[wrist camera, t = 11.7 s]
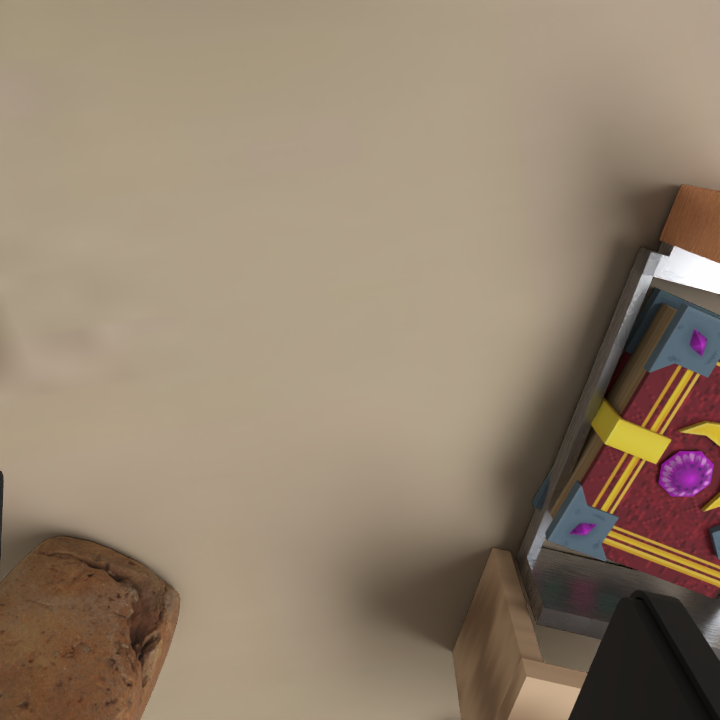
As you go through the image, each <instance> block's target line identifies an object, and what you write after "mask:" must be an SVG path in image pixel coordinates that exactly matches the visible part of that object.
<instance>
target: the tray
mask: <svg viewBox="0 0 720 720" xmlns="http://www.w3.org/2000/svg"><path fill="white" fill-rule="evenodd" d="M659 240H660V241H662V243H661V245H660V248H659V250H658V251H654V250H650V249H646V248H643V247H640V250H639V252H638V255H637V257H636V260H635V262H634V265H633V267H632V270H631V272H630V275H629V277H628V280H627V282H626V285H625V287H624V290H623V292H622V295H621V297H620V300H619V302H618V305H617V307H616V310H615V312H614V315H613V317H612V320H611V322H610V325H609V327H608V330H607V332H606V335H605V337H604V340H603V342H602V345H601V347H600V350H599V352H598V355H597V357H596V360H595V362H594V365H593V367H592V370H591V372H590V375H589V377H588V380H587V382H586V385H585V387H584V390H583V392H582V395H581V397H580V400H579V402H578V405H577V407H576V409H575V412H574V414H573V417H572V419H571V422H570V424H569V427H568V429H567V432H566V434H565V437H564V439H563V442H562V444H561V447H560V449H559V452H558V454H557V457H556V459H555V462H554V464H553V467H552V469H551V472H550V474H549V477H548V479H549V480H550V482H549V485H548V487H547V490H546V492H545V495H544V497H543V500H542V502H541V505H540V507H539V509H535V512H534V514H533V517H532V519H531V522H530V524H529V527H528V529H527V532H526V534H525V537H524V539H523V542H522V544H521V547H520V549H519V552H518V554H517V557H516V560H517V563H518V566H519V569H520V573H521V576H522V579H523V582H524V585H525V589H526V592H527V595H528V598H529V601H530V605H531V608H532V611H533V614H534V617H535V621H536V624H537V625H541V626H546V627H550V628H554V629H559V630H563V631H567V632H572V633H576V634H580V635H585V636H589V637H593V638H598V639H603V636H604V634H605V632H606V629H607V627H608V624H609V622H610V620H611V617H612V615H613V613H614V610H615V608H616V606H617V604H618V602H619V600H620V599H621V598H623V597H628V598H629V597H630V595H631V594H632V593H633V592H634V591H636V590H643V591H648V592H653V593H658V594H663V595H667V596H672V597H675V598H678V599H679V600H680V601H681V603H682V604H683V605H684V607H685V608H686V610H687V611H688V613H689V614H690V616H691V617H692V619H693V621H694V622H695V624H696V625H697V627H698V628H699V630H700V631H701V633H702V634H703V636H704V637H705V639H706V640H707V642H708V644H709V645H710V647H711V648H712V650H713V651H714V653H715V654H716V656H717V657H718V659H719V660H720V593H719V594H718V595H717V597H716V598H715V599H713V598H710V597H708V596H705V595H702V594H700V593H697V592H694V591H692V590H689V589H687V588H684V587H681V586H679V585H676V584H673V583H671V582H668V581H665V580H663V579H660V578H657V577H655V576H652V575H649V574H647V573H644V572H641V571H638V570H634V569H629V568H625V567H621V566H617V565H613V564H608V563H604V562H600V561H596V560H591V559H587V558H583V557H579V556H575V555H570V554H566V553H562V552H558V551H553V550H549V549H545V548H541V547H542V544H543V542H544V539H545V537H546V535H545V532H546V530H547V528H548V527H549V525H550V523H551V522H552V520H553V519H552V516H551V514H550V511H551V509H552V508H553V506H554V504H555V503H556V501H557V499H558V498H559V496H560V494H561V492H562V491H563V489H564V487H565V486H566V484H567V482H568V481H569V479H570V477H571V474H572V472H573V469H574V467H575V464H576V462H577V460H578V457H579V455H580V452H581V450H582V448H583V445H584V443H585V440H586V438H587V435H588V433H589V431H590V428H591V423H592V421H593V419H594V418H595V416H596V414H597V411H598V409H599V406H600V404H601V402H602V399H603V397H604V394H605V392H606V389H607V387H608V385H609V382H610V380H611V377H612V375H613V373H614V370H615V368H616V365H617V363H618V360H619V358H620V356H621V353H622V351H623V348H624V346H625V344H626V341H627V339H628V336H629V334H630V331H631V329H632V327H633V324H634V322H635V319H636V317H637V315H638V312H639V310H640V307H641V305H642V302H643V300H644V298H645V295H646V293H647V290H648V288H649V285H650V283H651V281H652V278H653V277H657V278H660V279H664V280H668V281H672V282H676V283H680V284H683V285H687V286H691V287H695V288H699V289H703V290H706V291H710V292H714V293H718V294H720V191H716V190H710V189H705V188H699V187H693V186H688V185H681V187H680V189H679V192H678V194H677V197H676V199H675V202H674V204H673V207H672V209H671V211H670V214H669V216H668V219H667V221H666V224H665V226H664V229H663V231H662V233H661V236H660V238H659Z"/></svg>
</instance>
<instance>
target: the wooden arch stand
mask: <svg viewBox="0 0 720 720" xmlns="http://www.w3.org/2000/svg"><path fill="white" fill-rule="evenodd" d="M452 653H453V660H454V668H455V675H456V683H457V690H458V698H459V705H460V713H461V720H568V718H569V716H570V714H571V711H572V709H573V707H574V704H575V702H576V700H577V697H578V695H579V693H580V690H581V688H582V686H583V683H584V681H585V679H586V676H587V674H588V673H585V672H581V671H577V670H572V669H568V668H563V667H559V666H555V665H550V664H546V663H544V662H543V658H542V655H541V652H540V648H539V645H538V642H537V639H536V635H535V632H534V629H533V625H532V622H531V619H530V615H529V612H528V609H527V605H526V602H525V599H524V596H523V592H522V589H521V586H520V582H519V579H518V576H517V572H516V569H515V566H514V562H513V559H512V556H511V553H510V551H506V550H501V549H497V548H492V550H491V553H490V556H489V558H488V561H487V563H486V566H485V569H484V571H483V574H482V576H481V579H480V582H479V584H478V587H477V589H476V592H475V595H474V597H473V600H472V603H471V605H470V608H469V610H468V613H467V616H466V618H465V621H464V623H463V626H462V629H461V631H460V634H459V636H458V639H457V642H456V644H455V647H454V650H453V652H452Z"/></svg>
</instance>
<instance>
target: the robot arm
mask: <svg viewBox="0 0 720 720" xmlns="http://www.w3.org/2000/svg"><path fill="white" fill-rule="evenodd" d="M3 482H4V480H3V474H2V472H1V471H0V558H1V533H2V508H3ZM568 720H720V660H719V659H718V657H717V656H716V654H715V653H714V651H713V650H712V648H711V647H710V645H709V644H708V642H707V640H706V639H705V637H704V636H703V634H702V633H701V631H700V630H699V628H698V627H697V625H696V624H695V622H694V621H693V619H692V617H691V616H690V614H689V613H688V611H687V610H686V608H685V607H684V605H683V604H682V603H681V601H680V600H679V599H678V598H675V597H672V596H667V595H663V594H658V593H653V592H648V591H643V590H636V591H634V592H633V593H632V594H631V595H630V597H629V598H628V597H623V598H621V599H620V600H619V602H618V604H617V606H616V608H615V610H614V613H613V615H612V617H611V620H610V622H609V624H608V627H607V629H606V632H605V634H604V636H603V639H602V641H601V643H600V646H599V648H598V650H597V653H596V655H595V657H594V660H593V662H592V664H591V667H590V669H589V671H588V674H587V676H586V679H585V681H584V683H583V686H582V688H581V690H580V693H579V695H578V697H577V700H576V702H575V704H574V707H573V709H572V711H571V714H570V716H569V718H568Z"/></svg>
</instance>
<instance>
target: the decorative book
mask: <svg viewBox="0 0 720 720" xmlns="http://www.w3.org/2000/svg"><path fill="white" fill-rule="evenodd" d="M623 350H624V351H623V353H622V355H621V356H620V358H619V360H618V363H617V365H616V368H615V370H614V373H613V375H612V377H611V380H610V382H609V385H608V387H607V389H606V392H605V394H604V397H603V399H602V402H601V404H600V406H599V409H598V411H597V414H596V416H595V418H594V419H593V421H592V423H591V428H590V431H589V433H588V435H587V438H586V440H585V443H584V445H583V448H582V450H581V452H580V455H579V457H578V460H577V462H576V464H575V467H574V469H573V472H572V474H571V477H570V479H569V481H568V482H567V484H566V486H565V487H564V489H563V491H562V492H561V494H560V496H559V498H558V499H557V501H556V503H555V504H554V506H553V508H552V509H551V511H550V514H551V516H552V519H553V520H552V522H551V523H550V525H549V527H548V528H547V530H546V532H545V535H546V538H547V540H548V541H550V542H553V543H556V544H559V545H561V546H564V547H567V548H569V549H572V550H575V551H578V552H580V553H583V554H586V555H589V556H591V557H594V558H597V559H599V560H602V561H605V562H606V558H607V559H610V560H612V561H615V562H618V563H620V564H623V565H626V566H628V567H631V568H633V569H636V570H639V571H641V572H644V573H647V574H649V575H652V576H655V577H657V578H660V579H663V580H665V581H668V582H671V583H673V584H676V585H679V586H681V587H684V588H687V589H689V590H692V591H694V592H697V593H700V594H702V595H705V596H708V597H710V598H713V599H715V598H716V597H717V595H718V594H719V593H720V318H719V315H717V314H715V313H713V312H711V311H709V310H706V309H704V308H702V307H699V306H697V305H695V304H692V303H690V302H688V301H686V300H683V299H681V298H679V297H676V296H674V295H672V294H669V293H667V292H665V291H662V290H660V289H658V288H656V287H655V289H654V291H653V292H652V294H651V296H650V298H649V299H648V301H647V303H646V305H645V307H644V308H643V310H642V312H641V314H640V315H639V317H638V319H637V321H636V322H635V324H634V326H633V328H632V330H631V331H630V334H629V336H628V339H627V341H626V344H625V346H624V348H623ZM551 469H552V468H551ZM550 472H551V470H550ZM550 472H549V473H548V475H547V477H546V479H545V480H544V482H543V484H542V485H541V487H540V489H539V490H538V492H537V494H536V496H535V497H534V499H533V501H532V503H533V505H534V508H536V509H539V507H540V505H541V502H542V500H543V497H544V495H545V492H546V490H547V487H548V485H549V482H550V480H549V479H548V477H549V474H550Z"/></svg>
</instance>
